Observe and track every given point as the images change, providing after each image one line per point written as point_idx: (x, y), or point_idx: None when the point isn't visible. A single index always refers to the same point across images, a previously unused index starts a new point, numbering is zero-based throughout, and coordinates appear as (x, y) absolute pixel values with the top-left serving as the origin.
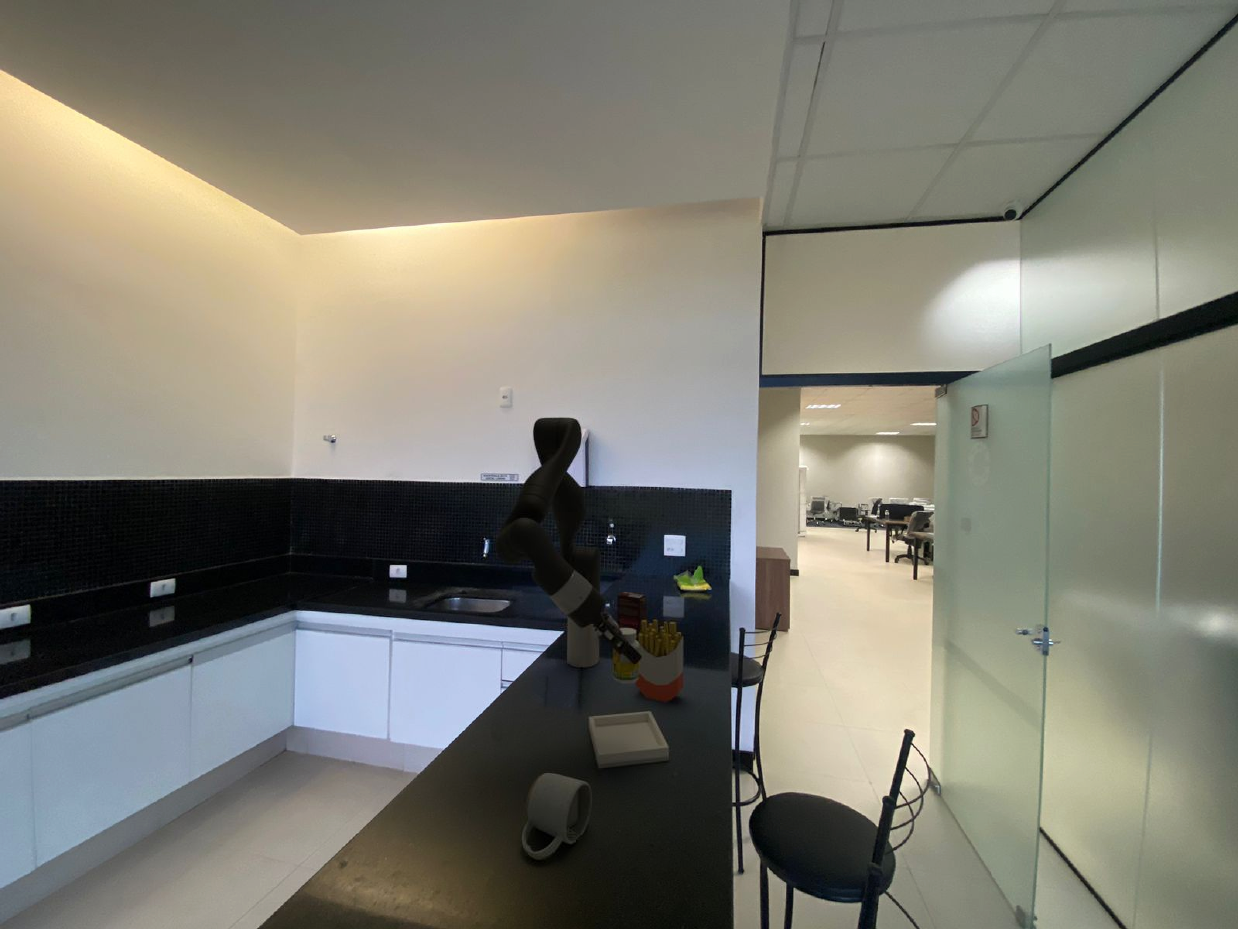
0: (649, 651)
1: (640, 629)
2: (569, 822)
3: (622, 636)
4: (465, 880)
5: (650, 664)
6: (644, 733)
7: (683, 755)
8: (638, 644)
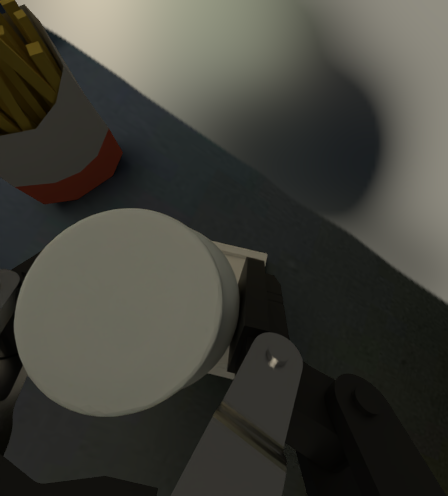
0: None
1: None
2: None
3: (282, 437)
4: None
5: (36, 153)
6: None
7: (258, 231)
8: (208, 240)
